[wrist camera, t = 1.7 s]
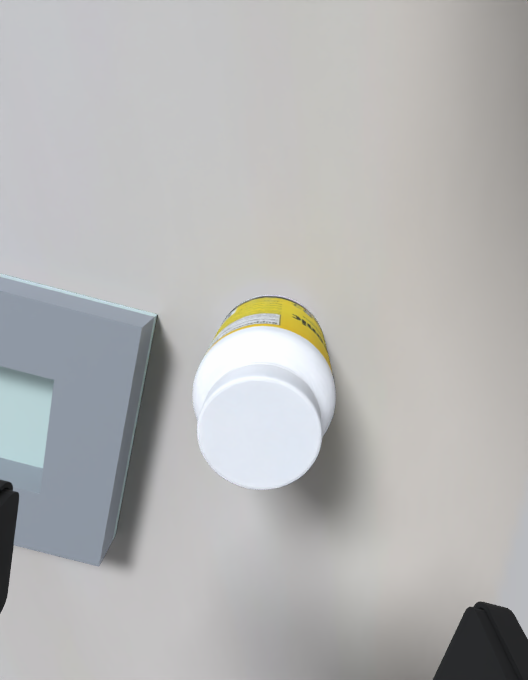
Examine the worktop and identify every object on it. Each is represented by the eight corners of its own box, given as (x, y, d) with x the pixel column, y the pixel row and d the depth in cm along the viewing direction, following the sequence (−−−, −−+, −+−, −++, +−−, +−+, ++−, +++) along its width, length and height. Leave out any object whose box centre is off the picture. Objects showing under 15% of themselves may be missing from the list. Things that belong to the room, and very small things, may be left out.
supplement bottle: (335, 380, 25) (361, 494, 15) (235, 402, 25) (201, 525, 16) (311, 279, 23) (322, 337, 14) (205, 306, 24) (148, 379, 14)
